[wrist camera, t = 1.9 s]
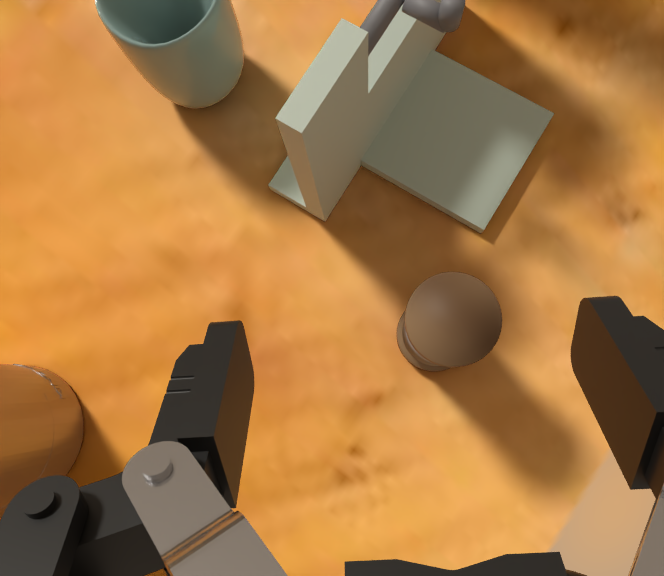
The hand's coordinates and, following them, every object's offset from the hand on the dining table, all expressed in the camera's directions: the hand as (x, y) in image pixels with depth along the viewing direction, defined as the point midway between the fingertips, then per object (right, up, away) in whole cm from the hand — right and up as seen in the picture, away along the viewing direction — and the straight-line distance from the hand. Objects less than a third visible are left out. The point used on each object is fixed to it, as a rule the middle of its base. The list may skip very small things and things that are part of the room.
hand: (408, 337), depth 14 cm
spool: (+5, -2, +26) cm, 27 cm away
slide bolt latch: (+5, +13, +29) cm, 32 cm away
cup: (-12, +18, +31) cm, 37 cm away
